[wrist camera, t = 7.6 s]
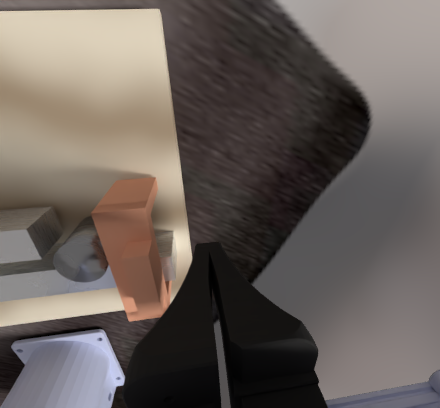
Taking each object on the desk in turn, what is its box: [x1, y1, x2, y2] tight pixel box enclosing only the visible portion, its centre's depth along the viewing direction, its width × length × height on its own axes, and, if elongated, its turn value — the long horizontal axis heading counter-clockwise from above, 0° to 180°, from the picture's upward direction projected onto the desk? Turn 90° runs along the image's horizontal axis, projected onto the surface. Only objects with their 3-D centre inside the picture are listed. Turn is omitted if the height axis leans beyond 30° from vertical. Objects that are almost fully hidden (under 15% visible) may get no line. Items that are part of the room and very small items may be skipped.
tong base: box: [0, 216, 177, 302], centre depth 14 cm, size 4×21×3 cm, turn 92°
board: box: [0, 9, 192, 327], centre depth 15 cm, size 20×22×1 cm
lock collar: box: [91, 177, 172, 321], centre depth 13 cm, size 8×2×5 cm, turn 2°
